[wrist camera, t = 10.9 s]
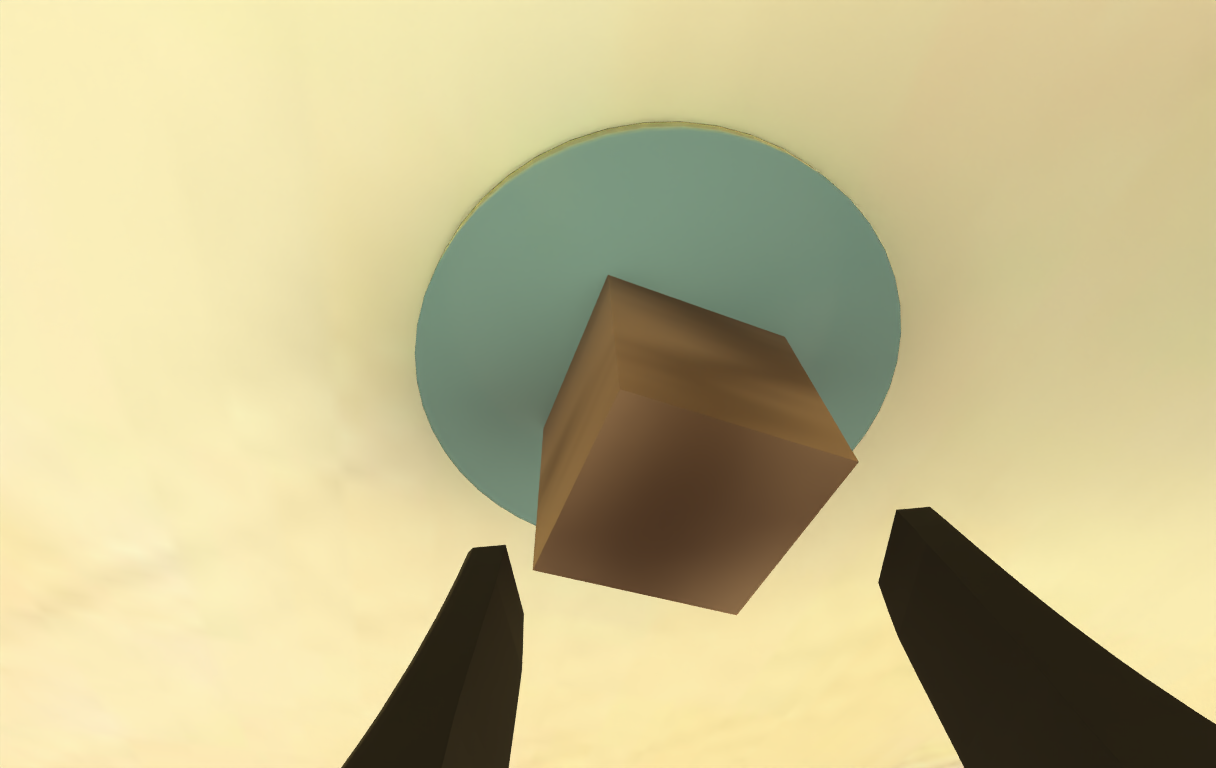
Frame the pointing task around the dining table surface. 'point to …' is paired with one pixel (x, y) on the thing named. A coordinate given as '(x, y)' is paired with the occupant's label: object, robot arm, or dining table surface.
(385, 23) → the dining table surface
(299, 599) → the dining table surface
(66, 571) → the dining table surface
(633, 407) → the walnut block
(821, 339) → the teal dish
